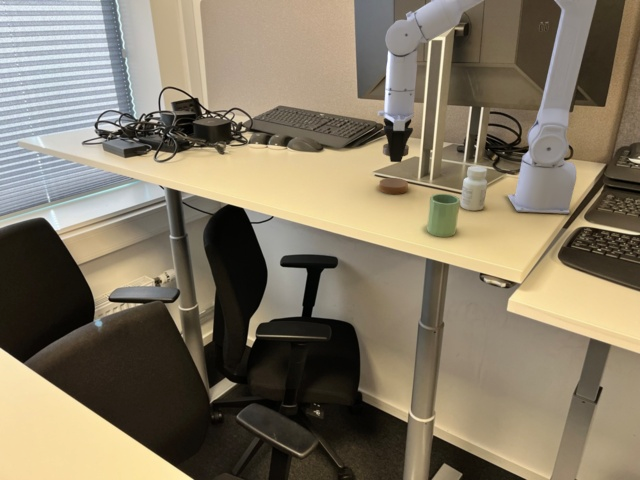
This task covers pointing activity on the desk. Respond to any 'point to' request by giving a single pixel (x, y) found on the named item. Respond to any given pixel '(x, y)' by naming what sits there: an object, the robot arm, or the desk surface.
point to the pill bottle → (474, 189)
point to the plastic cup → (443, 215)
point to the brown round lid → (386, 150)
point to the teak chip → (393, 186)
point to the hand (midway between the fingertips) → (395, 157)
